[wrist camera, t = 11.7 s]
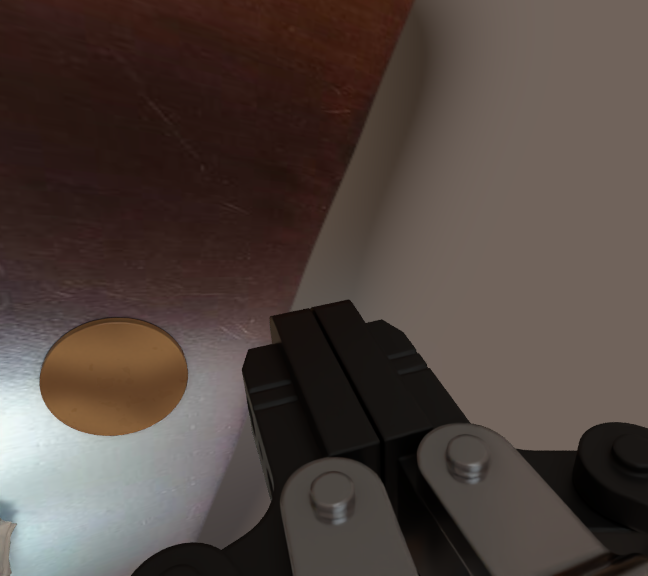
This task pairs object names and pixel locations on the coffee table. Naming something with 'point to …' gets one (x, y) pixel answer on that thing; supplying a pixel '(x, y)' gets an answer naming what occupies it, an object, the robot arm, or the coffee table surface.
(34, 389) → the coffee table surface
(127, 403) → the coaster
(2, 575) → the figurine
